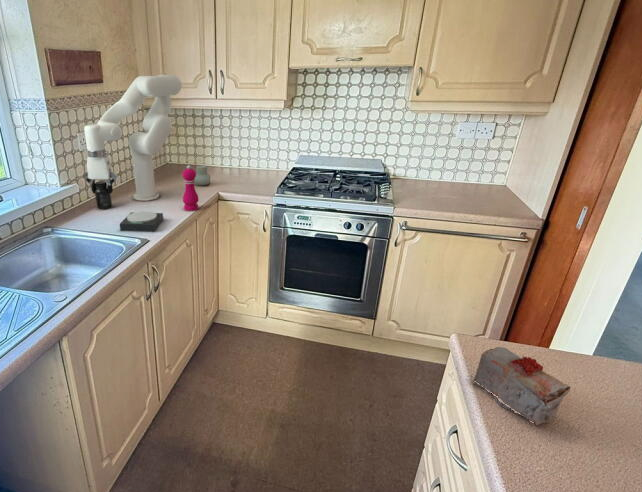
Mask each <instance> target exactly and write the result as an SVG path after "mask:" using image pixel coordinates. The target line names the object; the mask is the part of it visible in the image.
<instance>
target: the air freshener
mask: <svg viewBox="0 0 642 492" xmlns="http://www.w3.org/2000/svg"><path fill="white" fill-rule="evenodd" d="M195 169H196V170H195V172H196V177H195V183H194V185H195V186H196V185H197V186H200V187H201V186H202V187H203V186H207V185H209V184H210V183H211V174H210V173H208V166H207V165H203V164H201V165H197V166H196V167H195Z"/></svg>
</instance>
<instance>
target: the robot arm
mask: <svg viewBox="0 0 642 492" xmlns="http://www.w3.org/2000/svg"><path fill="white" fill-rule="evenodd" d="M182 86H183V85H182V81H181V79H180V78H179V77H178V76H176V75H174V74H159V75H140V76H137V77H135V78H134V80H133V81H132V82H131V84H130V85H129V87H128V88H127V89H126V91H125V93H124V94H123V95H122V96H121V98H120V99H119V100H118V101H117V102H114V104H113V105H112V106H111V107H109V108H108V109H107V110H106V111H105V112H104V113H103V114H102V115H101V117H100V119H99V120H98V121H97V123H95V124H93V123H92V124H86V125H85V126H84V127H83V131H84V137H85V143H86V149H87V150H86V151H87V158H86V169H87V171H86V172H85V173H84V174H83V175H82V178H83V179H84V180H86V182H87V183H88V185H89V186H90V189H91V192H92V194H94V195H95V189H96V188H97V187H96V180H97V181H98V180H99V181H105V182H106V183H107V187H108V194H112V193H113V191H114V188H113V184H114V182H115V181H116V180H117V179H118V176H119V175H117V174H116V173H115V172H114V171H113V169H112V165H111V161H110V158H109V156H108V155H109V151H107V149H106V146H105V142H115V141H116V142H117V141H118V140H119V139H121V138H122V135H123V130H122V127H120V125H118V124H119V123H120V122H121V121H122V120H124V119H126V118H128V117H131V116H133V115H135V114H136V113H137V112H138V111H139V109H140V107H141V106H142V105H143V103H144V102H145V100H146V99H147V98H148V97H152V98H154V99H153V100H154V101H153V103H152V105H151V107H150V109H149V110H148V112H147V113H146V115H145V116H144V118H143V121H142V128H143V130H144V131H145V132H142V131H136V132H133V133H132V134H131V135H130V137H129V139H128V147H129V151H130V154H131V159H132V166H133V177H134V184H135V185H134V186H135V194H133V199H134V200H136V201H139V202H140V201H141V202H144V201H145V202H146V201H153V200H157V199H159V197H160V194H159V192H156V182H155V181H156V179H155V171H154V160H153V156H155V155H157V154H158V153H159V152H160V151H161V150H162V148H163V146H164V145H165V143H166V141H167V140H168V138H169V137H170V134H171V132H172V129H173V122H172V119H171V117H170V116H169V114H170V112H171V111H172V98H171V96H176V95H178V94H179V93H180V91H181V90H182V88H183V87H182Z"/></svg>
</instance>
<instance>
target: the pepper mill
mask: <svg viewBox="0 0 642 492" xmlns="http://www.w3.org/2000/svg"><path fill="white" fill-rule="evenodd" d="M195 177H196V170H195V169H194V168H192V166H191V165H190V164H188V165H187V166H186V168H185V169H184V170H183V171H182V178H183V184H184V185H185V186H184V187H185V190H184V193H183V194H182V203H183V204H184V205H183V209H184V210H185V211H188V212H193V211H197V210H198V209H199V204H198V203H199V196H198V193H197V191H196V188H195Z"/></svg>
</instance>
